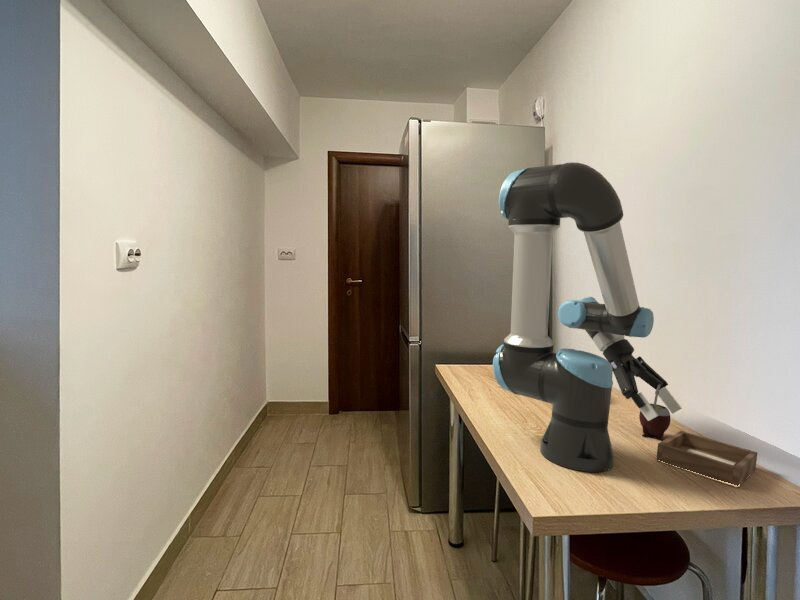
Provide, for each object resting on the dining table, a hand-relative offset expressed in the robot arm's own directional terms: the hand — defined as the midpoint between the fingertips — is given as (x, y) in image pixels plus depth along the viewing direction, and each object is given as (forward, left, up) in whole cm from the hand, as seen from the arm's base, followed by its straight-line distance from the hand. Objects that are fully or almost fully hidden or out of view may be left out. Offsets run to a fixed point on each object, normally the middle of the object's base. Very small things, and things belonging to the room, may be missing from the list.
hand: (665, 414), depth 113 cm
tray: (-9, -12, -7) cm, 16 cm away
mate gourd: (0, +2, -7) cm, 7 cm away
